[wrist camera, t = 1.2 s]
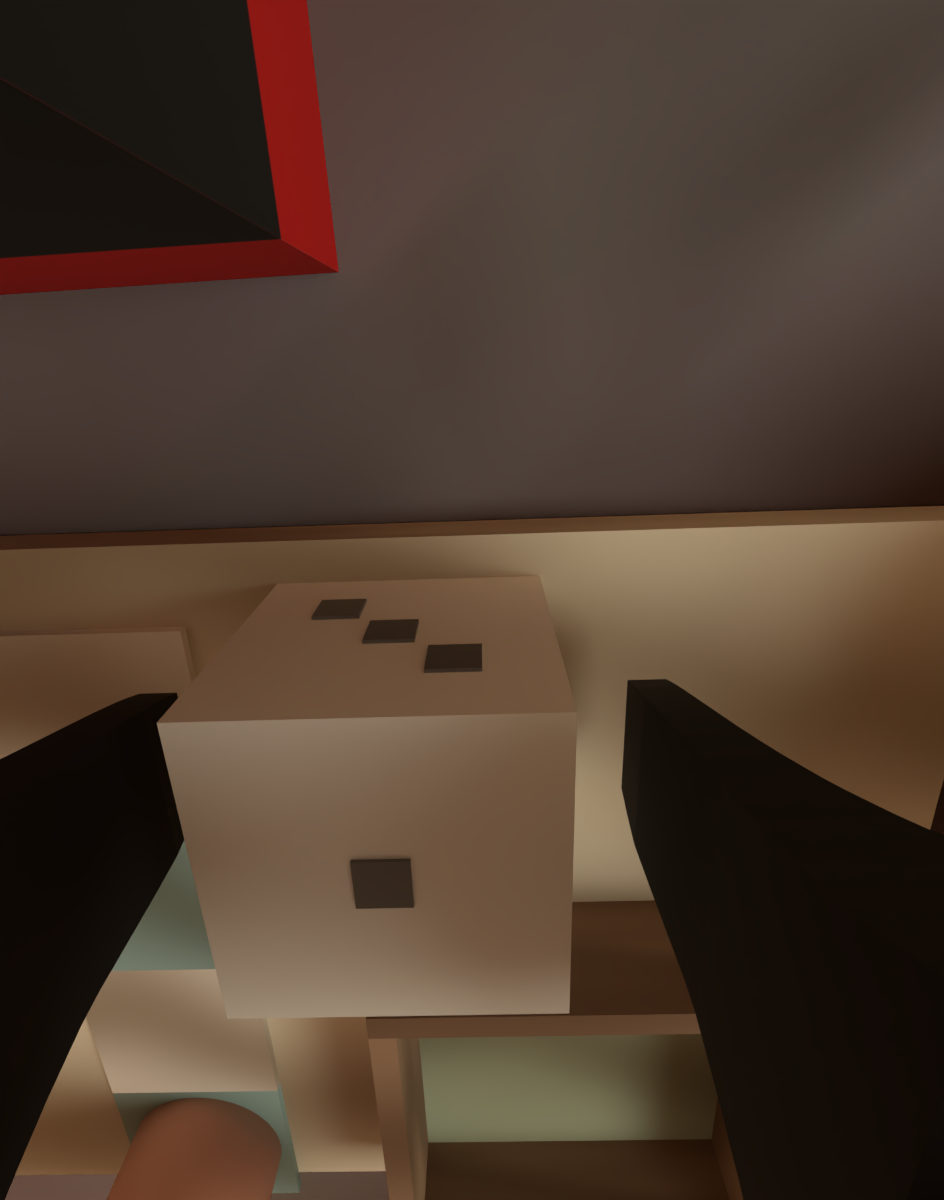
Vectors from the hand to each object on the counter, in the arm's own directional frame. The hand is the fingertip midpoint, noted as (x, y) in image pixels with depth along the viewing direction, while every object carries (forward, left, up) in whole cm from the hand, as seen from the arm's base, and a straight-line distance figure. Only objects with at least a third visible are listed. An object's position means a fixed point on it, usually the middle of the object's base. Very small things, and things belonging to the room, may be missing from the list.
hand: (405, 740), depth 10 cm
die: (0, 0, -2) cm, 2 cm away
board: (-6, +1, -3) cm, 6 cm away
